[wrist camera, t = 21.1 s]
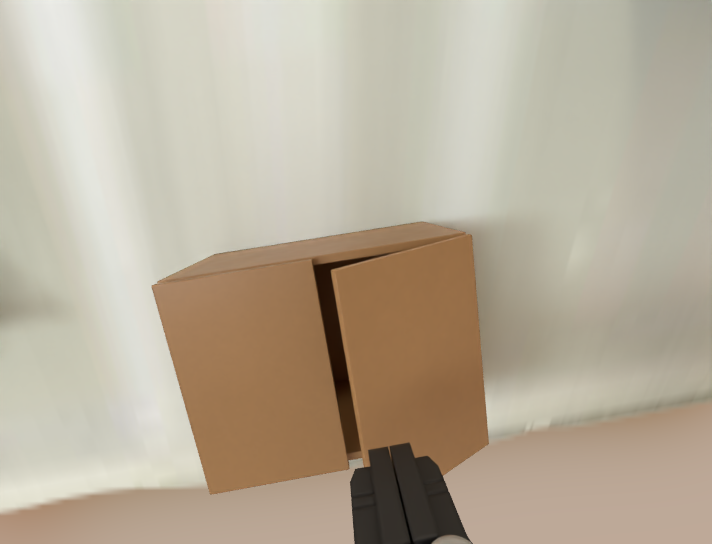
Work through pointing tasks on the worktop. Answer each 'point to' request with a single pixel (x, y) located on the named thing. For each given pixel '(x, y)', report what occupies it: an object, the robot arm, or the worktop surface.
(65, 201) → the worktop surface
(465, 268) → the cardboard box flap
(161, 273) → the worktop surface
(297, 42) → the worktop surface
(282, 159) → the worktop surface
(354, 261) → the open shipping carton
